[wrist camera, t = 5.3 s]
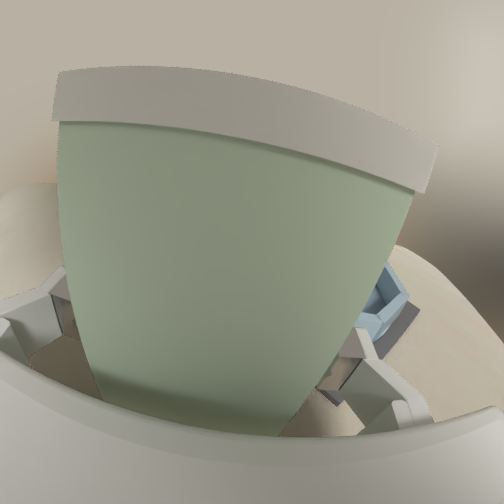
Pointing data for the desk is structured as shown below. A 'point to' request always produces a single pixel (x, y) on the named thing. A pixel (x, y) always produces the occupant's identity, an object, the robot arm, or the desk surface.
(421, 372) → the desk surface
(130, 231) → the tea tin
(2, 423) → the robot arm
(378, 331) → the bowl
